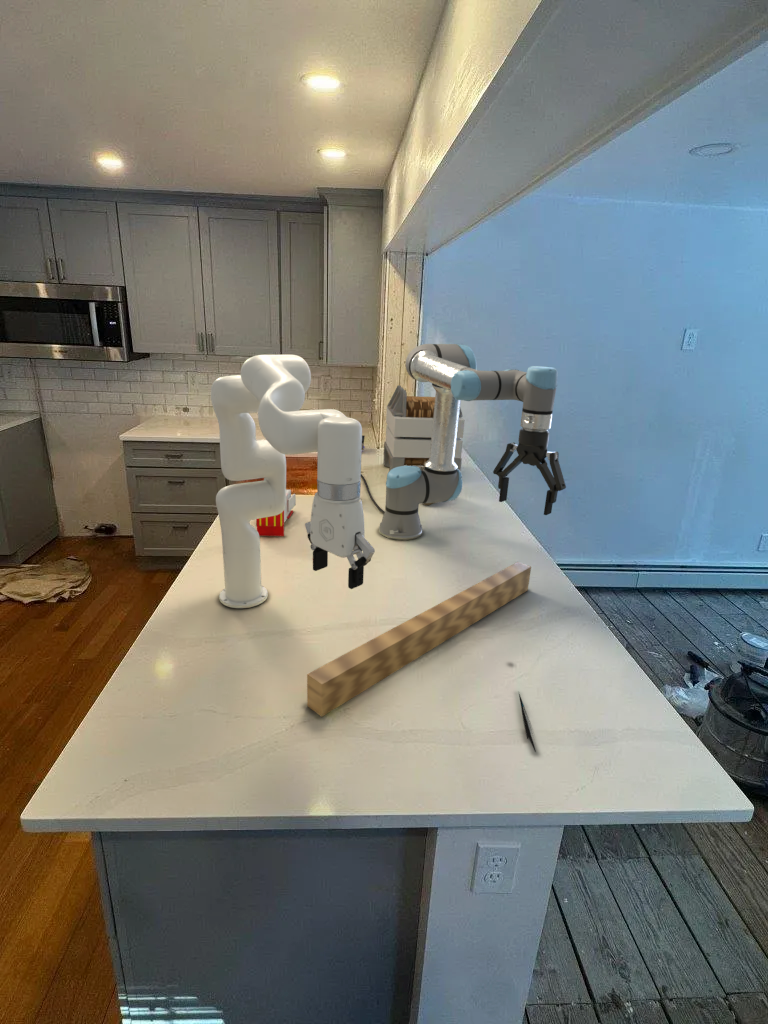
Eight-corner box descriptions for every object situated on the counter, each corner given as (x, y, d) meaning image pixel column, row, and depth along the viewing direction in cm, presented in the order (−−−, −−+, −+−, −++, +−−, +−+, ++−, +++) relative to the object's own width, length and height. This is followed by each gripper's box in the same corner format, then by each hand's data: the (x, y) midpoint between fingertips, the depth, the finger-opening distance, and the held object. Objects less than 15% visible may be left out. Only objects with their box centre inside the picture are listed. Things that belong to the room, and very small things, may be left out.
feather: (511, 668, 129) (516, 662, 128) (535, 756, 102) (542, 749, 102) (505, 664, 129) (510, 658, 128) (527, 751, 102) (534, 744, 101)
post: (514, 585, 166) (517, 561, 164) (527, 590, 163) (531, 566, 161) (307, 706, 112) (307, 674, 110) (321, 717, 109) (321, 684, 107)
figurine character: (364, 456, 306) (364, 446, 320) (364, 442, 303) (365, 433, 317) (351, 455, 306) (352, 446, 320) (352, 442, 303) (353, 433, 316)
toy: (297, 484, 217) (286, 498, 188) (297, 518, 220) (286, 537, 190) (265, 483, 217) (250, 497, 187) (266, 517, 219) (250, 537, 190)
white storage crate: (382, 463, 289) (386, 382, 275) (445, 464, 293) (451, 384, 279) (390, 482, 257) (394, 392, 243) (460, 483, 261) (468, 394, 247)
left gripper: (291, 481, 102) (292, 567, 108) (358, 506, 91) (355, 600, 97) (322, 474, 107) (322, 557, 113) (389, 496, 96) (385, 587, 102)
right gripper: (485, 422, 150) (477, 498, 158) (574, 439, 135) (560, 523, 142) (501, 419, 156) (492, 493, 163) (587, 435, 140) (574, 516, 147)
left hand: (337, 577), depth 105 cm, fingers open, 9 cm apart
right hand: (524, 507), depth 152 cm, fingers open, 13 cm apart
